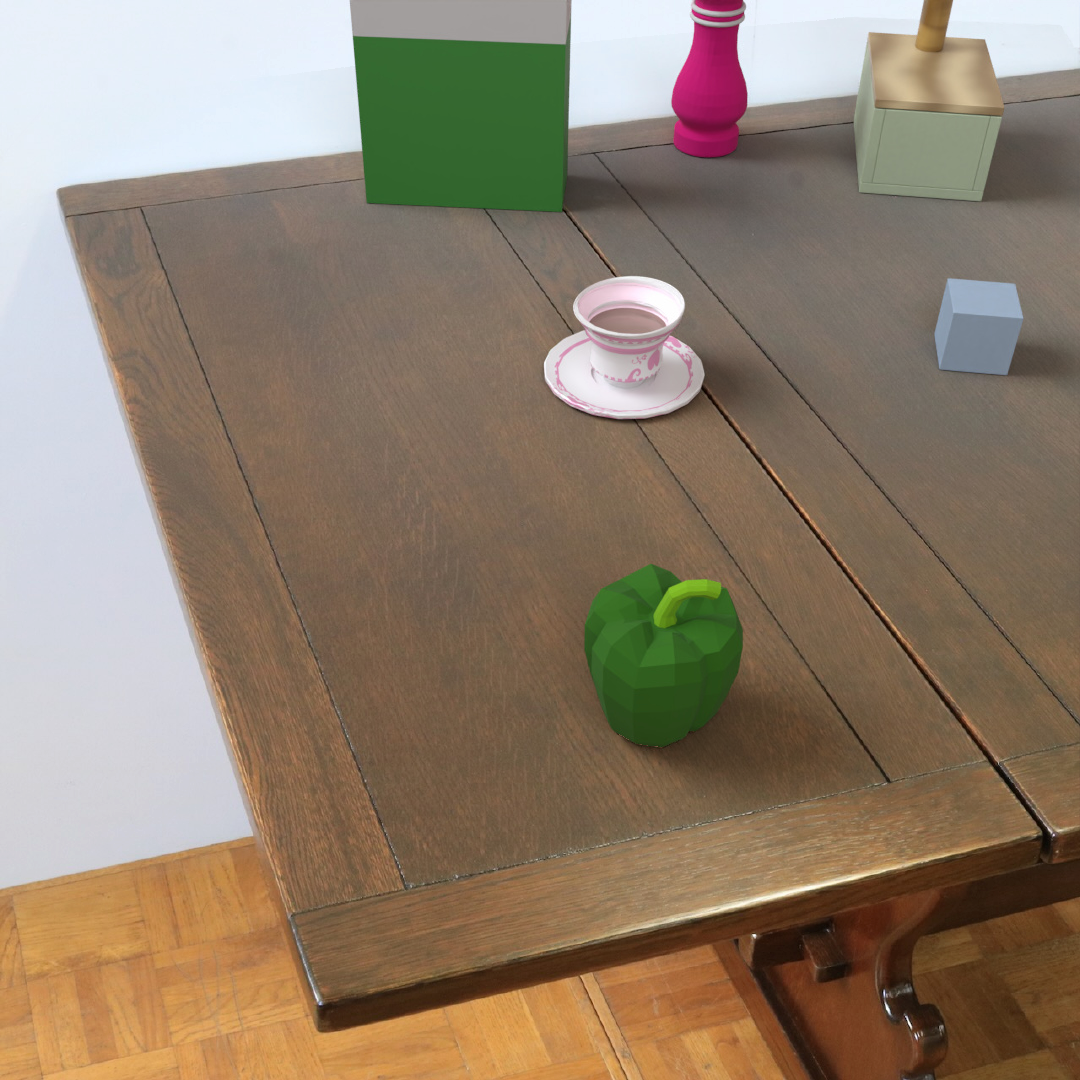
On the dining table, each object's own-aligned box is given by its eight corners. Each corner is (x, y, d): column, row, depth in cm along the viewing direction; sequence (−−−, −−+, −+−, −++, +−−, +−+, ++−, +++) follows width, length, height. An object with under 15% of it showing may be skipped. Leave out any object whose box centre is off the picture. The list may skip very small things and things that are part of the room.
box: (964, 128, 133) (983, 48, 127) (981, 201, 121) (1002, 117, 115) (853, 120, 134) (866, 41, 128) (858, 192, 122) (874, 108, 117)
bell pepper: (557, 741, 72) (560, 609, 66) (612, 642, 78) (620, 512, 72) (703, 791, 70) (722, 660, 63) (749, 686, 76) (770, 555, 69)
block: (999, 339, 103) (1015, 283, 100) (1007, 375, 100) (1023, 318, 96) (934, 334, 104) (947, 277, 100) (939, 369, 100) (953, 312, 97)
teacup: (634, 443, 93) (639, 369, 89) (510, 377, 99) (509, 304, 95) (736, 373, 99) (745, 301, 95) (613, 314, 105) (617, 245, 101)
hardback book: (366, 202, 119) (342, -80, 104) (380, 166, 125) (360, -107, 109) (562, 211, 118) (568, -72, 103) (567, 174, 124) (573, -100, 108)
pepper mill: (723, 124, 133) (745, -89, 120) (754, 154, 128) (781, -64, 114) (656, 133, 131) (671, -81, 118) (685, 164, 126) (704, -57, 113)
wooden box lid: (983, 47, 127) (997, -15, 123) (1002, 116, 115) (1019, 49, 112) (867, 40, 128) (877, -22, 125) (874, 107, 116) (886, 41, 113)
